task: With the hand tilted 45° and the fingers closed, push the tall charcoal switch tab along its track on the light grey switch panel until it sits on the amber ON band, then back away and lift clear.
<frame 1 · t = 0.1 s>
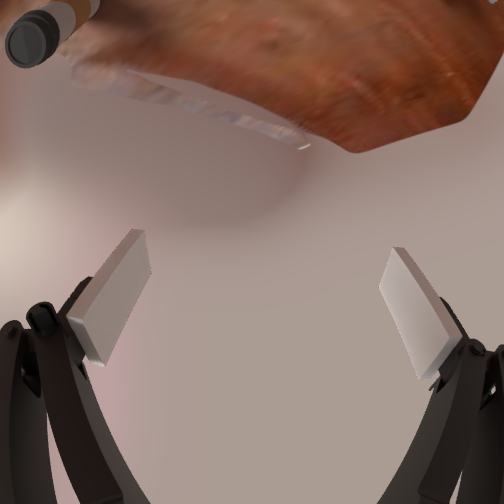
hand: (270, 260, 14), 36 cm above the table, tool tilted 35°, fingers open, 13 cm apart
coffee cup: (85, 2, 21), on the table
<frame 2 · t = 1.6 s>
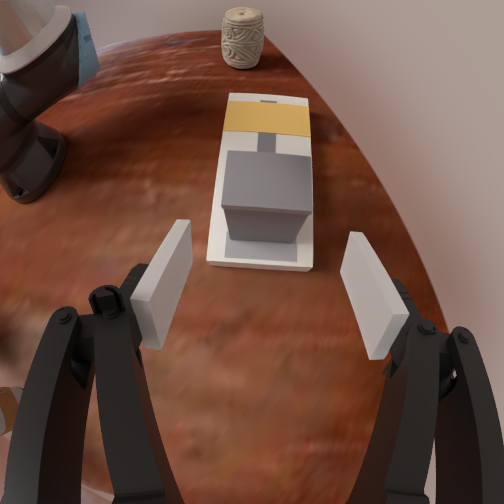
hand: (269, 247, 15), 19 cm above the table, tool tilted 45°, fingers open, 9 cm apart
switch tab: (265, 202, 27), point 8 cm above the table, slide at -8.0 cm
switch panel: (264, 174, 37), on the table
coffee cup: (23, 403, 28), on the table
carving: (242, 63, 43), on the table
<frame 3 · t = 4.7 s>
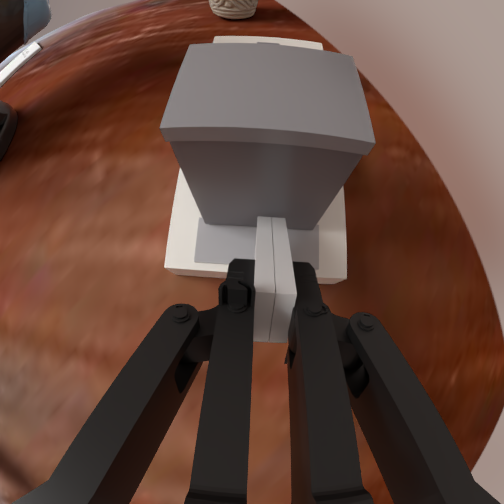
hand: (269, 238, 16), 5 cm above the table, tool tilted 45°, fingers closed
switch tab: (264, 150, 14), point 8 cm above the table, slide at -7.5 cm, touching gripper
external hard drive: (18, 66, 31), on the table
switch panel: (263, 135, 23), on the table
carving: (235, 15, 30), on the table
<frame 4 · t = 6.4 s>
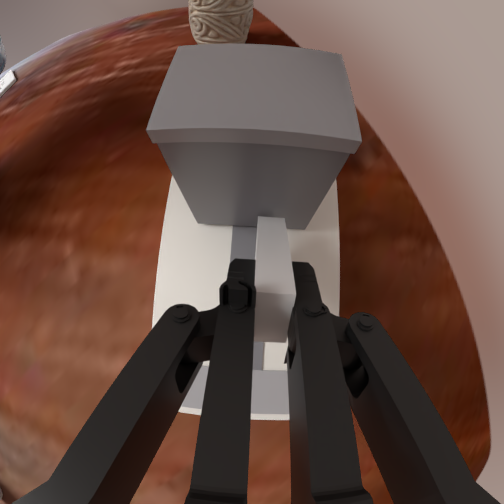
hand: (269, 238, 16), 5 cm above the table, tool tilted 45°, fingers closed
switch tab: (254, 149, 14), point 8 cm above the table, slide at 2.1 cm, touching gripper
switch panel: (251, 235, 21), on the table
carving: (223, 43, 27), on the table
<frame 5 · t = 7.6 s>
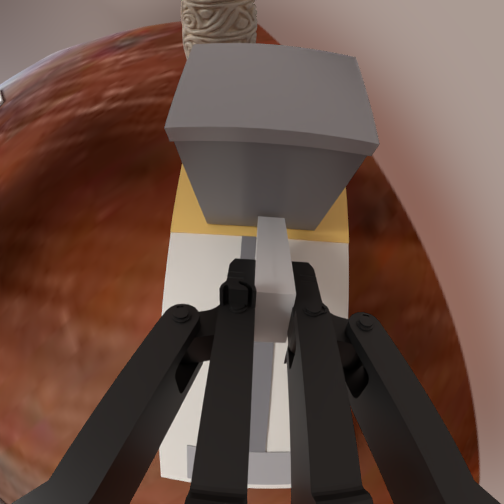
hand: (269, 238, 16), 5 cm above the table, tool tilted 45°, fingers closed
switch tab: (267, 150, 14), point 8 cm above the table, slide at 8.1 cm, touching gripper
switch panel: (254, 315, 20), on the table
carving: (222, 69, 26), on the table
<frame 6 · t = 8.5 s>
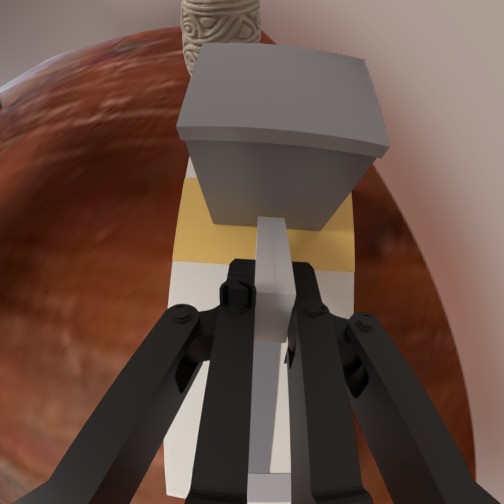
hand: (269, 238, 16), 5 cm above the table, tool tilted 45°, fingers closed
switch tab: (275, 150, 14), point 8 cm above the table, slide at 10.0 cm, touching gripper
switch panel: (258, 341, 19), on the table
carving: (224, 79, 26), on the table
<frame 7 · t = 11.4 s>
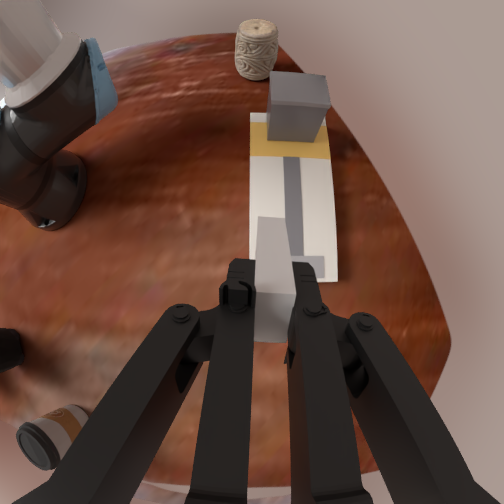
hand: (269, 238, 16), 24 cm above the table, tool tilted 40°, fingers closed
switch tab: (294, 109, 34), point 8 cm above the table, slide at 10.0 cm
switch panel: (289, 195, 41), on the table
portable speaker: (14, 346, 37), on the table
coffee cup: (78, 418, 36), on the table
carving: (255, 72, 44), on the table
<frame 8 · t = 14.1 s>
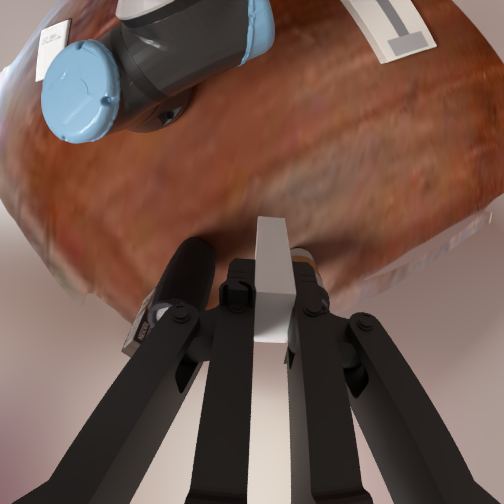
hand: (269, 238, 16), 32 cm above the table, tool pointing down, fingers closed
external hard drive: (55, 50, 32), on the table
coffee box: (164, 304, 63), on the table
portable speaker: (197, 253, 55), on the table
coffee cup: (296, 260, 55), on the table
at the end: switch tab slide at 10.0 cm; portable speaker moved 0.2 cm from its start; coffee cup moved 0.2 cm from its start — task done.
